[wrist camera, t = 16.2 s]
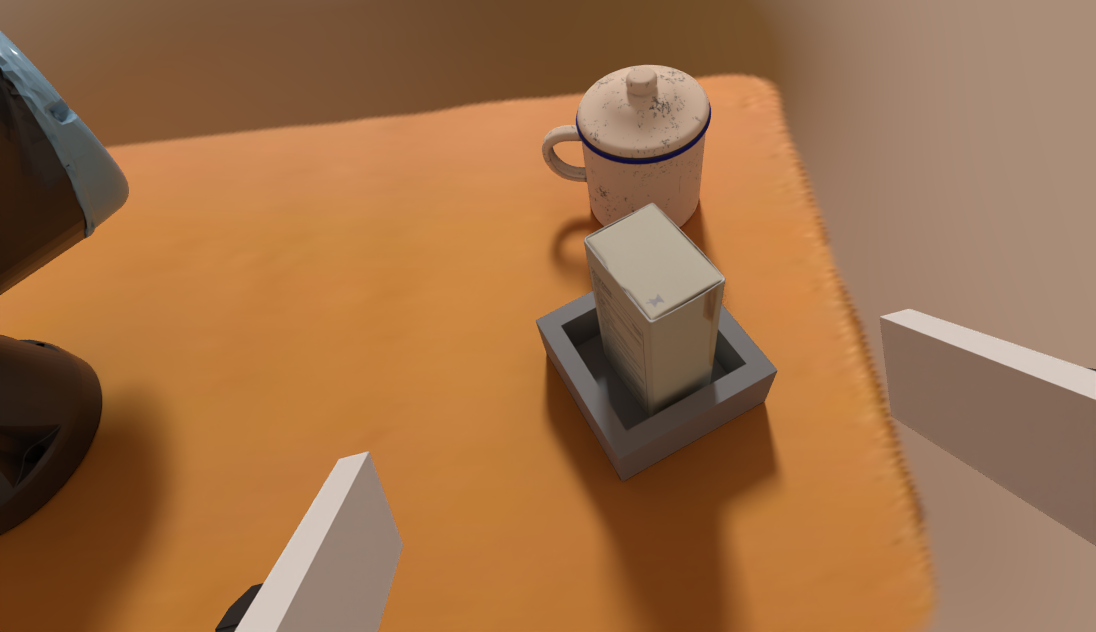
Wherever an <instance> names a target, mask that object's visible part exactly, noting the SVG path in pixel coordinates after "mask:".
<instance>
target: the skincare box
mask: <svg viewBox="0 0 1096 632" xmlns="http://www.w3.org/2000/svg"><path fill="white" fill-rule="evenodd" d="M584 244H585V250H586V255H587V260H588V266H589V271H590V277H591V282H592V288H593V293H594V299H595V304H596V310H597V315H598V321H599V326H600V332H601V337H602V343H603V349H604V354H605V356H606V357H607V359H608V360H609V362H610V363H611V365H612V366H613V368H614V369H615V371H616V372H617V374H618V375H619V377H620V378H621V379H622V381H623V382H624V384H625V385H626V386H627V388H628V389H629V390H630V392H631V393H632V395H633V396H634V397H635V399H636V400H637V401H638V403H639V404H640V405H641V407H642V408H643V409H644V411H645V412H646V413H647V414H648V416H649V417H652V416H654V415H656V414H658V413H659V412H661V411H663V410H665V409H667V408H668V407H670V406H672V405H674V404H675V403H677V402H679V401H681V400H683V399H684V398H686V397H688V396H690V395H692V394H693V393H695V392H697V391H699V390H701V389H702V388H704V387H706V386H708V385H710V381H711V374H712V367H713V360H714V353H715V346H716V339H717V332H718V326H719V318H720V311H721V304H722V297H723V290H724V284H725V278H724V276H723V275H722V274H721V273H720V271H719V270H718V269H717V268H716V267H715V266H714V264H713V263H712V262H711V261H710V260H709V259H708V258H707V256H706V255H705V254H704V253H703V252H702V251H701V250H700V249H699V248H698V247H697V246H696V245H695V244H694V243H693V242H692V241H691V240H690V239H689V238H688V237H687V235H686V234H685V233H684V232H683V231H682V230H681V229H680V228H679V227H678V226H677V225H676V224H675V223H674V222H673V221H672V220H671V219H670V218H668V217H667V216H666V215H665V214H664V213H663V212H662V211H661V210H660V209H659V208H658V207H657V206H656V205H655V204H654V203H651V204H649V205H647V206H645V207H643V208H641V209H639V210H637V211H635V212H633V213H631V214H629V215H627V216H625V217H623V218H621V219H619V220H617V221H615V222H613V223H611V224H609V225H607V226H605V227H603V228H601V229H599V230H598V231H596V232H594V233H592V234H590V235H588V236H586V237H585V239H584Z"/></svg>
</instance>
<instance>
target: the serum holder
mask: <svg viewBox="0 0 1096 632" xmlns="http://www.w3.org/2000/svg"><path fill="white" fill-rule="evenodd" d="M536 323H537V326H538V329H539V332H540V335H541V338H542V341H543V344H544V347H545V350H546V353H547V355H548V356H549V358H550V360H551V361H552V363H553V365H554V366H555V368H556V370H557V372H558V373H559V375H560V377H561V378H562V380H563V382H564V383H565V385H566V387H567V389H568V390H569V392H570V394H571V395H572V397H573V399H574V400H575V402H576V404H577V406H578V407H579V409H580V411H581V412H582V414H583V416H584V417H585V419H586V421H587V423H588V424H589V426H590V428H591V429H592V431H593V433H594V434H595V436H596V438H597V439H598V441H599V443H600V445H601V446H602V448H603V450H604V451H605V453H606V455H607V456H608V458H609V460H610V462H611V463H612V465H613V467H614V468H615V470H616V472H617V473H618V475H619V477H620V479H621V480H622V482H623V481H625V480H627V479H628V478H630V477H632V476H634V475H636V474H637V473H639V472H641V471H643V470H644V469H646V468H648V467H650V466H651V465H653V464H655V463H657V462H658V461H660V460H662V459H664V458H665V457H667V456H669V455H671V454H672V453H674V452H676V451H678V450H680V449H681V448H683V447H685V446H687V445H688V444H690V443H692V442H694V441H695V440H697V439H699V438H701V437H702V436H704V435H706V434H708V433H709V432H711V431H713V430H715V429H716V428H718V427H720V426H722V425H724V424H725V423H727V422H729V421H731V420H732V419H734V418H736V417H738V416H739V415H741V414H743V413H745V412H746V411H748V410H750V409H752V408H753V407H755V406H757V405H759V404H761V403H762V402H764V401H765V399H766V397H767V394H768V392H769V390H770V387H771V385H772V382H773V380H774V378H775V375H776V373H777V369H776V368H775V367H774V365H773V364H772V363H771V362H770V361H769V360H768V358H767V357H766V356H765V355H764V354H763V352H762V351H761V350H760V349H759V348H758V346H757V345H756V344H755V343H754V342H753V341H752V339H751V338H750V337H749V336H748V335H747V333H746V332H745V331H744V330H743V329H742V327H741V326H740V325H739V324H738V323H737V321H736V320H735V319H734V318H733V317H732V316H731V314H730V313H729V312H728V311H727V310H726V308H725V307H724V306H723V305H722V304H721V311H720V318H719V326H718V332H717V339H716V346H715V353H714V360H713V367H712V374H711V381H710V385H708V386H706V387H704V388H702V389H701V390H699V391H697V392H695V393H693V394H692V395H690V396H688V397H686V398H684V399H683V400H681V401H679V402H677V403H675V404H674V405H672V406H670V407H668V408H667V409H665V410H663V411H661V412H659V413H658V414H656V415H654V416H652V417H649V416H648V414H647V413H646V412H645V411H644V409H643V408H642V407H641V405H640V404H639V403H638V401H637V400H636V399H635V397H634V396H633V395H632V393H631V392H630V390H629V389H628V388H627V386H626V385H625V384H624V382H623V381H622V379H621V378H620V377H619V375H618V374H617V372H616V371H615V369H614V368H613V366H612V365H611V363H610V362H609V360H608V359H607V357H606V356H605V354H604V349H603V343H602V337H601V332H600V326H599V321H598V315H597V310H596V304H595V299H594V293H593V291H591V292H589V293H588V294H586V295H584V296H582V297H580V298H578V299H576V300H574V301H572V302H570V303H568V304H566V305H564V306H562V307H561V308H559V309H557V310H555V311H553V312H551V313H549V314H547V315H545V316H543V317H541V318H539V319H537V320H536Z"/></svg>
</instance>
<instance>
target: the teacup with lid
mask: <svg viewBox="0 0 1096 632" xmlns="http://www.w3.org/2000/svg"><path fill="white" fill-rule="evenodd" d="M710 119H711V107H710V103H709V100H708V97H707V94H706V93H705V91H704V89H703V88H702V87H701V85H700V84H699V83H698V82H697V81H696V80H695V79H693V78H692V77H691V76H689V75H687V74H686V73H684V72H682V71H679V70H676V69H673V68H670V67H665V66H657V65H643V66H634V67H629V68H625V69H621V70H619V71H616V72H613V73H611V74H609V75H607V76H605V77H603V78H602V79H600V80H599V81H597V82H596V83H595V84H594V85H593V86H592V87H591V88H590V89H589V90H588V91H587V92H586V94H585V95H584V97H583V98H582V100H581V102H580V105H579V108H578V111H577V115H576V125H566V126H560V127H557V128H555V129H553V130H551V131H550V132H549V133H548V134H547V135H546V136H545V138H544V141H543V146H542V153H543V157H544V160H545V162H546V163H547V165H548V166H549V168H550V169H551V170H552V171H553V172H554V173H556V174H557V175H559V176H560V177H562V178H564V179H567V180H571V181H578V182H587V184H588V191H589V199H590V205H591V209H592V211H593V213H594V215H595V217H596V218H597V220H598V221H599V222H600V223H601V224H602V225H603V226H604V227H605V226H607V225H609V224H611V223H613V222H615V221H617V220H619V219H621V218H623V217H625V216H627V215H629V214H631V213H633V212H635V211H637V210H639V209H641V208H643V207H645V206H647V205H649V204H651V203H654V204H655V205H656V206H657V207H658V208H659V209H660V210H661V211H662V212H663V213H664V214H665V215H666V216H667V217H668V218H670V219H671V220H672V221H673V222H674V223H675V224H676V225H677V226H678V227H681V226H682V225H683V224H685V223H686V222H687V221H688V220H689V218H690V217H691V216H692V215H693V213H694V211H695V209H696V207H697V204H698V201H699V193H700V183H701V173H702V163H703V153H704V142H705V132H706V130H707V128H708V126H709V123H710ZM563 141H582V146H583V154H584V161H585V167H575V166H571V165H568V164H566V163H565V162H563V161H562V160H561V159H560V158H559V157H558V156H557V155H556V154H555V152H554V150H553V146H554V145H555V144H557V143H559V142H563Z"/></svg>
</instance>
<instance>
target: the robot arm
mask: <svg viewBox="0 0 1096 632" xmlns="http://www.w3.org/2000/svg"><path fill="white" fill-rule="evenodd" d="M128 194H129V186H128V182H127V180H126V178H125V176H124V174H123V172H122V171H121V169H120V168H119V166H118V165H117V164H116V162H115V161H114V160H113V158H112V157H111V156H110V154H109V153H108V152H107V150H106V149H105V148H104V147H103V145H102V144H101V143H100V142H99V140H98V139H97V138H96V137H95V136H94V134H93V133H92V132H91V131H90V130H89V128H88V127H87V126H86V125H85V124H84V123H83V121H82V120H81V119H80V118H79V117H78V116H77V115H76V114H75V113H74V112H73V111H72V110H71V109H69V107H68V105H67V103H66V102H65V101H64V100H63V99H62V98H61V97H60V95H59V94H58V93H57V92H56V90H55V89H54V88H53V86H52V85H51V84H50V83H49V82H48V81H47V79H45V78H44V76H43V75H42V74H41V73H40V72H39V70H38V69H37V68H36V67H35V66H34V65H33V64H32V63H31V62H30V61H29V60H28V59H27V58H26V56H25V55H24V54H23V53H22V52H21V51H20V50H19V49H18V48H17V47H16V46H15V45H14V44H13V43H12V42H11V41H10V40H9V39H8V38H7V37H6V36H5V35H4V34H3V33H2V32H1V31H0V295H1V294H3V293H4V292H6V291H7V290H9V289H10V288H12V287H13V286H14V285H16V284H17V283H19V282H20V281H22V280H23V279H25V278H26V277H28V276H29V275H31V274H32V273H34V272H35V271H37V270H38V269H40V268H41V267H43V266H44V265H46V264H47V263H49V262H50V261H52V260H53V259H54V258H56V257H57V256H59V255H60V254H62V253H63V252H65V251H66V250H68V249H69V248H71V247H72V246H74V245H75V244H77V243H78V242H80V241H81V240H83V239H85V238H88V237H89V236H91V235H92V234H93V232H94V230H95V228H96V227H97V226H99V225H100V224H101V223H102V222H104V221H105V220H106V219H107V218H109V217H110V216H111V215H112V214H114V213H115V212H116V211H117V210H118V209H120V208H121V207H122V206H123V205H124V203H125V202H126V200H127V198H128ZM880 324H881V333H882V340H883V349H884V358H885V366H886V375H887V383H888V392H889V400H890V408H891V416H892V417H893V418H895V419H897V420H898V421H900V422H901V423H903V424H904V425H906V426H908V427H909V428H911V429H912V430H914V431H916V432H917V433H919V434H920V435H922V436H924V437H925V438H927V439H928V440H930V441H932V442H933V443H934V444H936V445H938V446H939V447H941V448H942V449H944V450H945V451H947V452H949V453H950V454H952V455H953V456H955V457H956V458H958V459H960V460H961V461H963V462H965V463H966V464H968V465H969V466H971V467H972V468H974V469H975V470H977V471H979V472H980V473H982V474H983V475H985V476H986V477H988V478H990V479H991V480H993V481H994V482H996V483H998V484H999V485H1001V486H1002V487H1004V488H1005V489H1007V490H1008V491H1010V492H1012V493H1013V494H1015V495H1016V496H1018V497H1019V498H1021V499H1023V500H1024V501H1026V502H1027V503H1029V504H1031V505H1032V506H1034V507H1035V508H1037V509H1038V510H1040V511H1042V512H1043V513H1045V514H1046V515H1048V516H1050V517H1051V518H1053V519H1054V520H1056V521H1058V522H1059V523H1060V524H1062V525H1064V526H1065V527H1067V528H1069V529H1070V530H1072V531H1073V532H1075V533H1076V534H1078V535H1079V536H1081V537H1083V538H1084V539H1086V540H1087V541H1089V542H1090V543H1092V544H1094V545H1095V546H1096V369H1091V368H1085V367H1081V366H1078V365H1075V364H1072V363H1069V362H1066V361H1063V360H1060V359H1057V358H1054V357H1051V356H1048V355H1045V354H1042V353H1040V352H1037V351H1034V350H1030V349H1028V348H1025V347H1022V346H1019V345H1016V344H1012V343H1010V342H1007V341H1004V340H1001V339H997V338H994V337H992V336H989V335H986V334H983V333H980V332H977V331H974V330H971V329H968V328H965V327H962V326H959V325H956V324H953V323H950V322H947V321H944V320H941V319H938V318H935V317H932V316H929V315H926V314H923V313H920V312H917V311H914V310H912V309H907V310H903V311H899V312H896V313H892V314H888V315H884V316H880ZM101 404H102V394H101V387H100V383H99V380H98V377H97V375H96V373H95V372H94V370H93V369H92V368H91V366H90V365H89V364H88V363H86V362H85V361H84V360H82V359H80V358H78V357H77V356H75V355H73V354H71V353H69V352H67V351H65V350H64V349H62V348H60V347H58V346H55V345H52V344H49V343H46V342H41V341H35V340H17V339H14V338H11V337H7V336H4V335H0V534H2V533H4V532H6V531H7V530H9V529H11V528H12V527H14V526H16V525H17V524H19V523H20V522H22V521H23V520H25V519H26V518H27V517H29V516H30V515H31V514H33V513H34V512H35V511H36V510H38V509H39V508H40V507H41V506H42V505H43V504H44V503H46V502H47V501H48V500H49V499H50V498H51V497H52V496H53V495H54V494H55V493H56V492H57V491H58V489H59V488H60V487H61V486H62V485H63V484H64V483H65V481H66V480H67V479H68V478H69V476H70V475H71V474H72V473H73V471H74V470H75V468H76V467H77V466H78V464H79V462H80V461H81V459H82V458H83V456H84V454H85V452H86V451H87V449H88V447H89V445H90V443H91V441H92V438H93V436H94V433H95V431H96V428H97V425H98V421H99V417H100V412H101ZM402 547H403V543H402V540H401V538H400V535H399V532H398V529H397V527H396V524H395V521H394V518H393V516H392V513H391V510H390V507H389V505H388V502H387V499H386V496H385V494H384V491H383V488H382V486H381V483H380V480H379V477H378V475H377V472H376V469H375V466H374V464H373V461H372V458H371V455H370V453H369V451H368V452H364V453H360V454H357V455H353V456H349V457H345V458H342V459H339V460H338V462H337V464H336V465H335V467H334V469H333V470H332V472H331V474H330V475H329V477H328V478H327V480H326V482H325V483H324V485H323V487H322V488H321V490H320V492H319V493H318V495H317V497H316V498H315V500H314V502H313V503H312V505H311V506H310V508H309V510H308V511H307V513H306V515H305V516H304V518H303V520H302V521H301V523H300V525H299V526H298V528H297V530H296V531H295V533H294V534H293V536H292V538H291V539H290V541H289V543H288V544H287V546H286V548H285V549H284V551H283V553H282V554H281V556H280V558H279V559H278V561H277V562H276V564H275V566H274V567H273V569H272V571H271V572H270V574H269V576H268V577H267V579H266V581H265V582H264V583H262V584H258V585H254V586H251V587H250V588H249V589H248V590H247V591H246V592H245V593H244V594H243V595H242V596H241V597H240V598H239V599H238V600H237V601H236V602H235V603H234V604H233V605H232V606H231V607H230V608H229V609H228V611H227V612H226V614H225V615H224V617H223V618H222V620H221V621H220V623H219V624H218V626H217V627H216V629H215V632H378V629H379V625H380V622H381V618H382V615H383V612H384V608H385V605H386V601H387V598H388V595H389V591H390V588H391V584H392V581H393V578H394V574H395V571H396V567H397V564H398V560H399V557H400V554H401V550H402Z"/></svg>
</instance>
